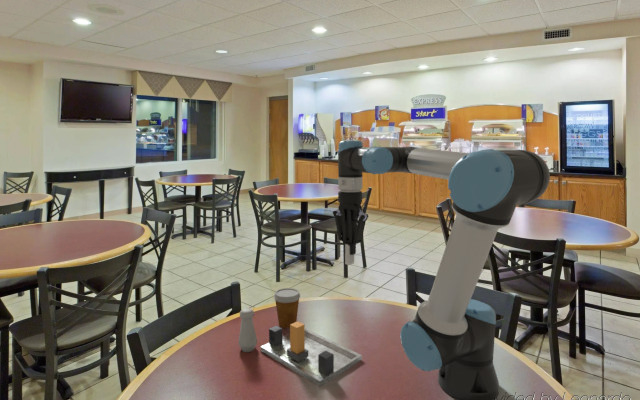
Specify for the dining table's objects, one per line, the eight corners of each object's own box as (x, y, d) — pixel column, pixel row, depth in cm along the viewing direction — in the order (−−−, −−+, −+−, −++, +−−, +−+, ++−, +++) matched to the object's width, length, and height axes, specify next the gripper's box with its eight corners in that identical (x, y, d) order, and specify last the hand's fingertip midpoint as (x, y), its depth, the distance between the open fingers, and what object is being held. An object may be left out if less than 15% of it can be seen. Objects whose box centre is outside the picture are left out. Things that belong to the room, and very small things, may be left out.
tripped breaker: (308, 356, 113) (308, 325, 112) (298, 362, 110) (298, 329, 109) (296, 350, 116) (296, 319, 115) (287, 355, 113) (286, 324, 112)
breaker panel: (361, 359, 114) (362, 339, 114) (319, 386, 102) (319, 363, 101) (302, 331, 132) (302, 313, 132) (260, 350, 120) (260, 331, 119)
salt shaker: (249, 342, 125) (248, 304, 123) (261, 347, 122) (260, 309, 120) (234, 349, 121) (233, 310, 119) (246, 355, 117) (245, 315, 115)
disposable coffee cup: (302, 318, 142) (302, 288, 141) (298, 330, 133) (298, 298, 131) (277, 317, 143) (276, 287, 142) (271, 329, 134) (271, 297, 132)
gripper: (326, 190, 121) (326, 262, 124) (359, 193, 112) (358, 270, 115) (342, 188, 126) (341, 257, 129) (374, 191, 117) (373, 265, 120)
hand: (349, 263), depth 122 cm, fingers closed
